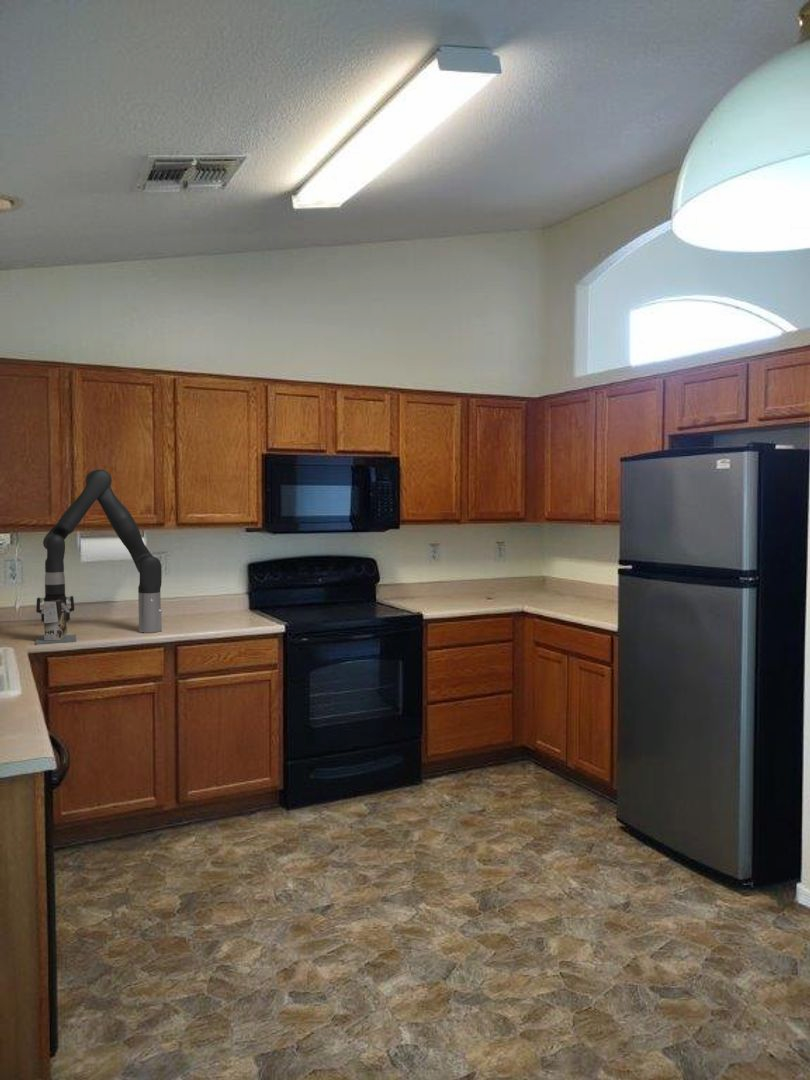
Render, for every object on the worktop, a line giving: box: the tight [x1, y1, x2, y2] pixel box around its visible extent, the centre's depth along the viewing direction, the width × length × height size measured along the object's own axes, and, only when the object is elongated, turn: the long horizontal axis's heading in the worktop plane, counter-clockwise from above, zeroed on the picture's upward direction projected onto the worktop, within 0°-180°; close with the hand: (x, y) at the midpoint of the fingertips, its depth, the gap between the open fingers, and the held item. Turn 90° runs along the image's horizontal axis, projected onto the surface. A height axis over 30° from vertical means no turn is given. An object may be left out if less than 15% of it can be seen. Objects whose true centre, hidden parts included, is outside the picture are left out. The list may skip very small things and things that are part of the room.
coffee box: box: [43, 600, 68, 641], centre depth 321 cm, size 9×6×16 cm
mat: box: [35, 634, 77, 645], centre depth 322 cm, size 15×14×1 cm
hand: (55, 622), depth 321 cm, fingers open, 8 cm apart
